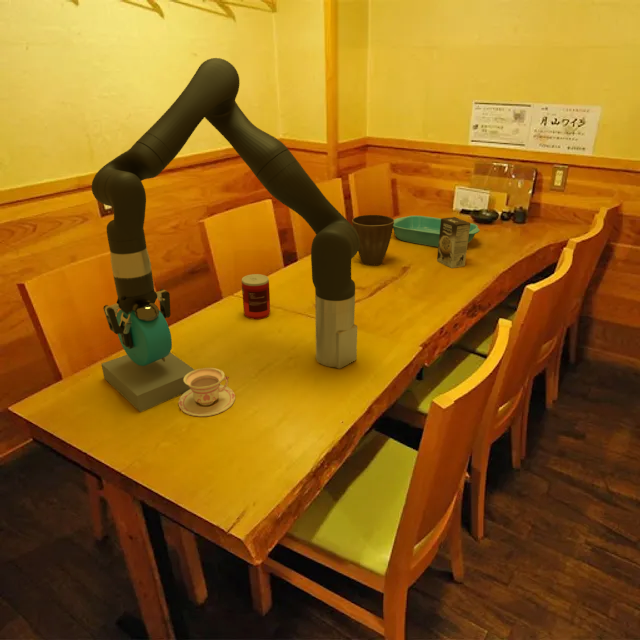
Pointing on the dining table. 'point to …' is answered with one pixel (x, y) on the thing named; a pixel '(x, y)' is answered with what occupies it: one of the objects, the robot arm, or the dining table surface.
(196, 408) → the teacup
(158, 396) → the plinth
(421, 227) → the casserole dish
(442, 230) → the coffee box
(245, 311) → the canned food
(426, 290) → the dining table surface
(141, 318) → the alarm clock
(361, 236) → the plant pot
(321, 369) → the dining table surface
